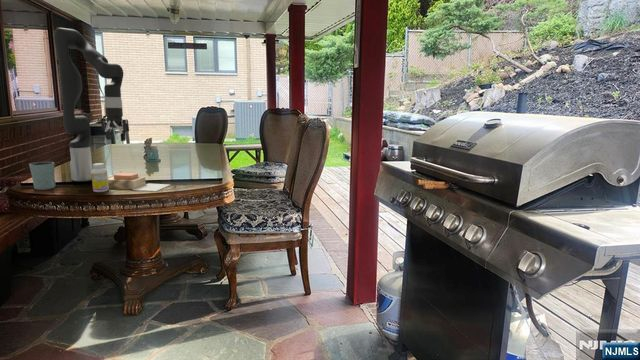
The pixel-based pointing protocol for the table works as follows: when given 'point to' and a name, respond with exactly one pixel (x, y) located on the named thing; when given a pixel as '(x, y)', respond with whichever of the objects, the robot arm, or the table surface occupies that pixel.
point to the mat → (151, 187)
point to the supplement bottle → (99, 178)
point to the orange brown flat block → (126, 176)
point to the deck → (125, 183)
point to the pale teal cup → (43, 175)
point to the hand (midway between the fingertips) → (116, 140)
